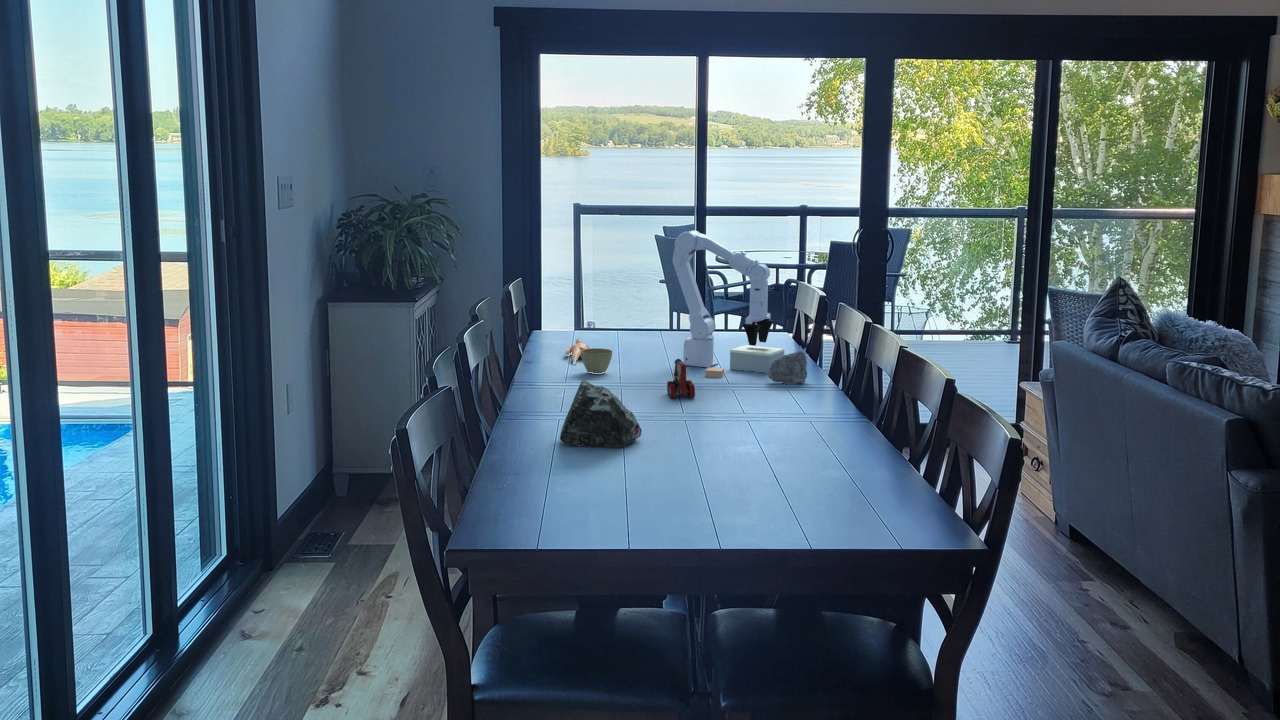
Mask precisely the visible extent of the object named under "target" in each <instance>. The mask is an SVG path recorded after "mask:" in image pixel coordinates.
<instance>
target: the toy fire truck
mask: <svg viewBox="0 0 1280 720" xmlns="http://www.w3.org/2000/svg"><path fill="white" fill-rule="evenodd" d="M674 364H675V365H674V373H673V377H674V379H672V380H668V381H667V383H666V388H667V389H666V390H667V392H666V393H667V395H668V396H669V399H672V400H673V399H674V400H675V399H676V397H677V394H679V396H685V395H687V396H688V399H694V398H695V395H696V387H695V384H694V383H693V382H692V380H691V379H690V380H689V379H687V365H685V364H684V363H683V361H682V359H680V358H676V359H675V360H674Z"/></svg>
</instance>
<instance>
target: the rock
mask: <svg viewBox="0 0 1280 720" xmlns="http://www.w3.org/2000/svg"><path fill="white" fill-rule="evenodd" d="M807 362H808V361H807V357H806V355H805V354H804V353H803V351H802V350H799V351H794V352H791V353H788V354H784V356H782V357H780V358H778V359H776V360H774V361H773V362H772V364H771V367H770V368H769V370H768V373H767V374H768V378H769V380H771V381H772V382H774V383H780V382H781V383H783V384H785V383H793V384H796V383H797V384H802V383H805V382H806V379H807V377H808V371H807V366H808V363H807Z"/></svg>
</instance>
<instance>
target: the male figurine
mask: <svg viewBox="0 0 1280 720" xmlns="http://www.w3.org/2000/svg"><path fill="white" fill-rule="evenodd" d="M590 348H591V347H589V346H588V345H587V344H585V343H583V342H582V340H581V339H580V338H577V339H576V340H575V344H572V346H571V347H567V349H566V350H565V353H564V355H565V354H566V355H569V353H571V352H572V355H571V360H572V362H573V361H576V360H577V361H578V360H579V359H580V358H581V357H580V356H581V350H583V349H590ZM579 357H580V358H579ZM578 358H579V359H578Z"/></svg>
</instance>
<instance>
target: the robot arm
mask: <svg viewBox="0 0 1280 720" xmlns="http://www.w3.org/2000/svg"><path fill="white" fill-rule="evenodd" d="M697 251H708V252H710V253H712V254H714V255H716V256H717V257H720V258H722V259H723V260H725V261H727V262H728V264H729V265H728V266H729V267H730V268H731V269H733V270H735V271H736V272H739V274H740V273H741V275H743V276H745V277H748V279H749V281H750V287H749V315H748V316H747V317H745V322H743V323H742V328H743V329H744V330H745V331H744V332H745V334H746V337H747V341H748V342H747V343H748V345H751V346H757V341H758V342H759V343H767V340H768V336H769V332H770V329H771V328H772V326H773V324H774V320H773V319H771V313H770V312H768V307H769V306H768V303H769V302H768V301H769V300H768V299H769V286H768V285H769V281H768V280H769V277H770V275H771V270H770V268H769V267H768V265H766V264H765V263H764V262H763V263H762V262H759V260H757V259H753V258H751V257H750V256H748V255H747V252H745V251H742V252H741V251H740V250H739V251H735V252H734V251H732V250H730V249H729V248H727V247H725V246H724V245H722V244H721V243H720V242H717V241H716V240H714V239H713V238H711V237H710V236H708V235H706V234H705V233H701V232H700V231H698V230H694V229H693V230H689V231H683V232H681V233H680V234H679V235H678V236H677V238H676V239H675V241H674V249H673V255H672V264H673V268H674V271H675V273H676V276H677V280H678V283H679V284H680V288H681V291H682V294H683V296H684V297H683V298H684V300H685V303H686V306H687V308H688V311H689V315H688V320H689V324H690V325H689V331H690V334H691V336H688V337H687V338H685V340H684V343H683V359H682V360H683V361H682V362H683V363H684V364H685V365H686V366H690V367H691V366H692V367H701V368H708V367H710V368H711V367H713V366H716V365H719V363H718V361H714V339H715V338H714V335H713V333H714V332H715V330H716V322H715V320H714V318H712V317H711V315H710V312H709V311H708V310H707V308H706V307H705V304H704V302H703V298H702V295H701V293H700V290H699V287H698V284H697V280H696V278H695V275H694V272H693V269H692V266H691V264H690V261H691V260H692V258H693V255H694V254H695V253H697Z"/></svg>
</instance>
